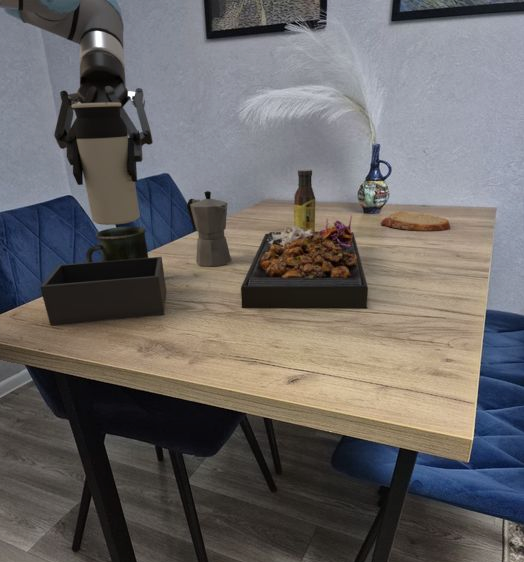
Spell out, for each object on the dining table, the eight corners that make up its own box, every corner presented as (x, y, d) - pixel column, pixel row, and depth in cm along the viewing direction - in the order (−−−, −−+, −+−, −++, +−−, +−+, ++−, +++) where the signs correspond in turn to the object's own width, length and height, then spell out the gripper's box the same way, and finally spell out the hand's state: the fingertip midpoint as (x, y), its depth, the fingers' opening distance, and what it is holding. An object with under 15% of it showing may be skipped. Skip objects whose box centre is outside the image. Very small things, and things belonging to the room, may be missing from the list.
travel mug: (84, 225, 79) (59, 104, 71) (106, 216, 86) (85, 104, 78) (128, 225, 77) (108, 102, 69) (147, 215, 84) (130, 102, 76)
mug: (162, 281, 112) (154, 230, 107) (104, 297, 103) (93, 242, 98) (139, 271, 119) (132, 224, 114) (84, 286, 111) (73, 235, 105)
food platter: (265, 249, 134) (264, 212, 130) (353, 248, 131) (354, 210, 127) (242, 307, 94) (238, 257, 90) (366, 308, 92) (370, 256, 87)
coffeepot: (243, 262, 123) (239, 190, 115) (216, 270, 118) (209, 196, 109) (206, 252, 133) (200, 186, 125) (179, 260, 127) (171, 191, 119)
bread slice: (454, 229, 147) (456, 216, 145) (402, 234, 143) (403, 222, 141) (424, 218, 162) (425, 207, 161) (376, 223, 159) (376, 211, 157)
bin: (50, 325, 90) (40, 286, 87) (66, 299, 103) (58, 264, 100) (164, 314, 93) (158, 276, 89) (166, 290, 106) (161, 256, 102)
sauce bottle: (308, 243, 138) (309, 171, 129) (290, 241, 141) (289, 171, 132) (318, 238, 143) (319, 168, 134) (300, 236, 146) (300, 168, 137)
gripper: (165, 85, 87) (173, 188, 80) (48, 90, 85) (46, 196, 78) (159, 48, 80) (168, 157, 73) (32, 51, 78) (28, 165, 71)
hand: (105, 177), depth 75 cm, fingers closed on travel mug, 8 cm apart
